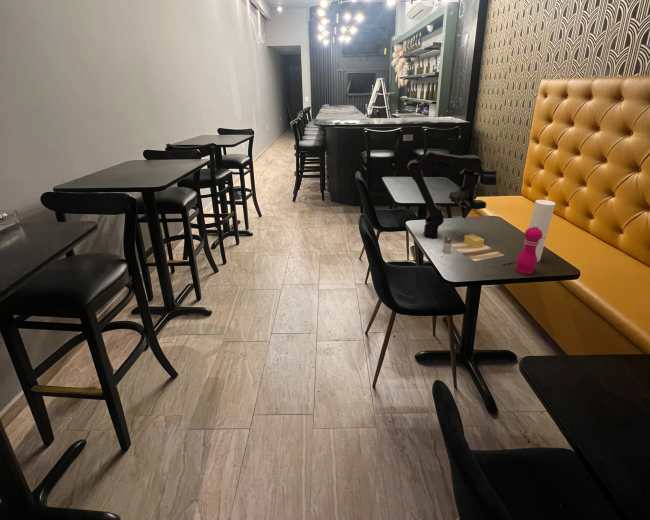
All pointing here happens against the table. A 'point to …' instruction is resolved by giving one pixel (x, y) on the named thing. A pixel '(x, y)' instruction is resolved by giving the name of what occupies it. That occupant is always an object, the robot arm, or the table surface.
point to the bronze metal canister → (447, 244)
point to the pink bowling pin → (529, 251)
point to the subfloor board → (476, 251)
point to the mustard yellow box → (473, 241)
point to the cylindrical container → (542, 221)
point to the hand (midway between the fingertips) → (463, 218)
